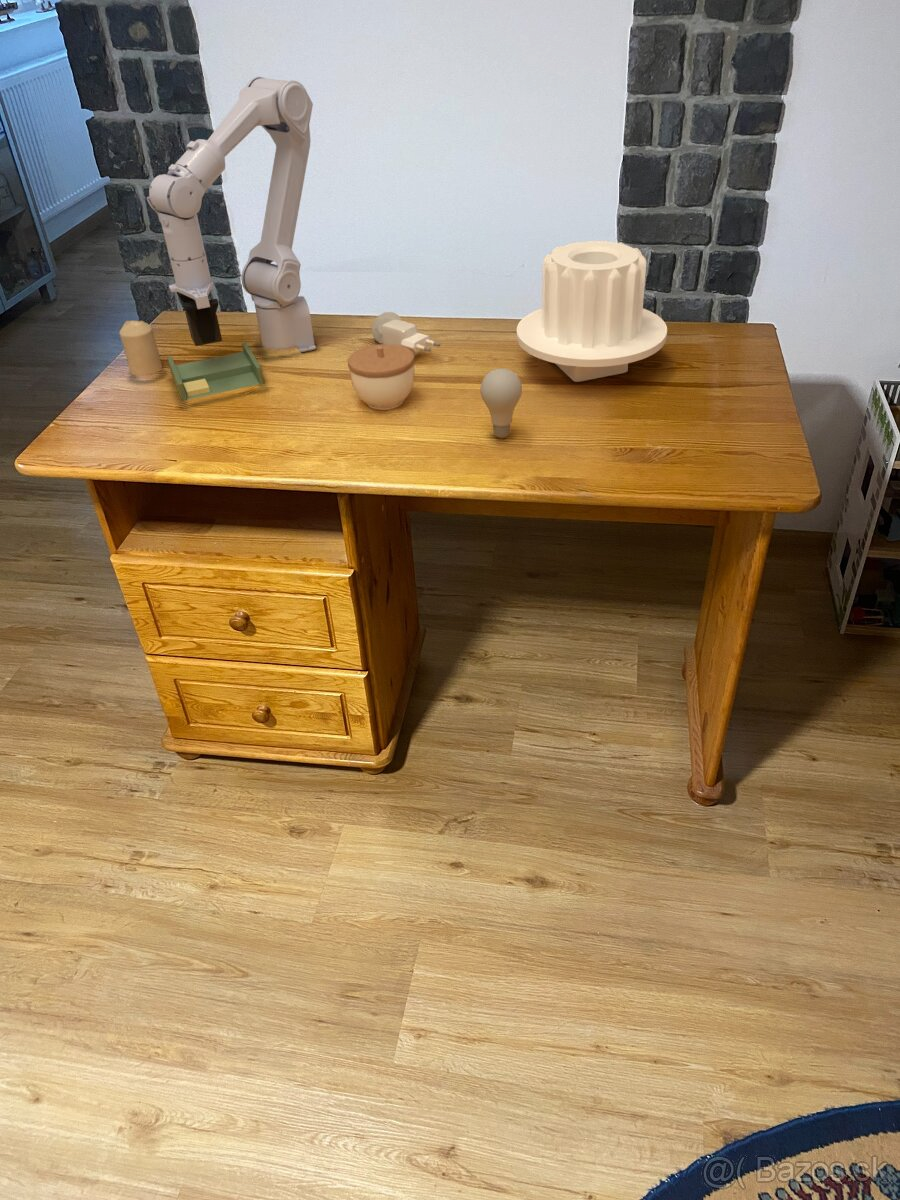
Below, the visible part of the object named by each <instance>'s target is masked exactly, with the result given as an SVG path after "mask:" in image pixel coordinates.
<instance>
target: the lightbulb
mask: <svg viewBox="0 0 900 1200" xmlns="http://www.w3.org/2000/svg"><path fill="white" fill-rule="evenodd" d="M522 393H523V386H522V382H521V378H520V377H519V376H518V375H517V374H516V373H515V372H514V371H513V370H510V369H508V368H504V367H503V368H502V367H501V368H495V369H492V370H491V371H489V372H487V374H486V375H485V376H484V377H483V379H482V380H481V384H480V395H481V396H480V397H481V400H482V401H483V403H484V404H485V406H486V408H487V409H488V411H489V414H490V422H491V424H492V429H493V430H492V431H493V435H494V436H495V437H496V438H498V439H505V438H506V437H509V436H510V434H511V425H512V424H511V423H512V422H513V416H514V415H513V414H514V411H515V408H516V407H517V405H518V403H519V401H520V399H521V397H522Z"/></svg>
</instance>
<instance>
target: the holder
mask: <svg viewBox="0 0 900 1200" xmlns="http://www.w3.org/2000/svg"><path fill="white" fill-rule="evenodd" d="M184 314H185V317H186V322H187V326H188V330H189V334H190V338H191V340H192V342H193V344H194V346H195V347H199V346H205V345H209V344H214V343H219V342H223V338H222V337H223V336H222V332H221V328H220V323H219V319H218V315H217V314H216V316H215V341H212V342H207V343H203V342H202V340H201V338H200V336H199V334H198V331H197V329H196V326H195V324H194V322H193V320H192V318H191V317H190V315H189V314H188V313H187V311H186V310H185V311H184Z"/></svg>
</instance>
